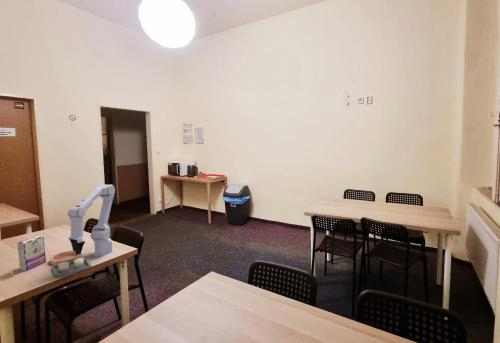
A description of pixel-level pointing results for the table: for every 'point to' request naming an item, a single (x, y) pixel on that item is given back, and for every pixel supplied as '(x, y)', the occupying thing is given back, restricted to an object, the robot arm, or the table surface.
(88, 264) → the parts tray
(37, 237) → the candy bar box
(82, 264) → the white rounded piece
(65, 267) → the white rounded piece
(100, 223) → the robot arm
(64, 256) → the bowl
